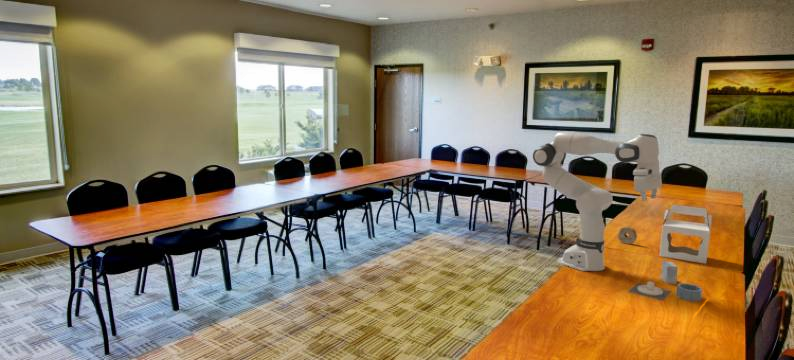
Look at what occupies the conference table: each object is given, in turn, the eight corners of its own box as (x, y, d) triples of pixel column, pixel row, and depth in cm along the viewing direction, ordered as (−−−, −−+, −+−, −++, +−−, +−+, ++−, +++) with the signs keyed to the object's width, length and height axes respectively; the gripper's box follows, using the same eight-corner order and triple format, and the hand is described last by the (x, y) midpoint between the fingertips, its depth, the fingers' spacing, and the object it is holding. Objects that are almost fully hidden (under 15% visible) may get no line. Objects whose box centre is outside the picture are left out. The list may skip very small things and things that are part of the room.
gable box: (707, 257, 274) (713, 206, 270) (706, 264, 263) (712, 211, 259) (661, 250, 286) (666, 201, 282) (658, 256, 275) (664, 205, 271)
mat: (627, 292, 222) (627, 291, 222) (638, 284, 232) (638, 283, 232) (662, 301, 212) (662, 300, 212) (671, 292, 223) (671, 291, 223)
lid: (634, 291, 222) (634, 282, 221) (641, 285, 229) (642, 277, 228) (658, 297, 215) (659, 288, 214) (665, 291, 222) (666, 282, 222)
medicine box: (676, 285, 232) (678, 267, 231) (665, 284, 233) (667, 266, 231) (670, 279, 240) (672, 261, 238) (660, 278, 240) (662, 260, 239)
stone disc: (637, 244, 296) (638, 228, 295) (634, 245, 294) (635, 229, 292) (619, 240, 304) (621, 224, 302) (616, 241, 301) (618, 225, 300)
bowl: (674, 298, 216) (675, 287, 215) (679, 292, 223) (680, 281, 222) (697, 304, 210) (699, 292, 210) (702, 298, 217) (704, 287, 216)
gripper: (651, 167, 240) (651, 196, 242) (631, 171, 227) (631, 202, 229) (665, 167, 236) (665, 197, 237) (645, 171, 223) (646, 203, 224)
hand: (648, 199), depth 233 cm, fingers open, 8 cm apart
